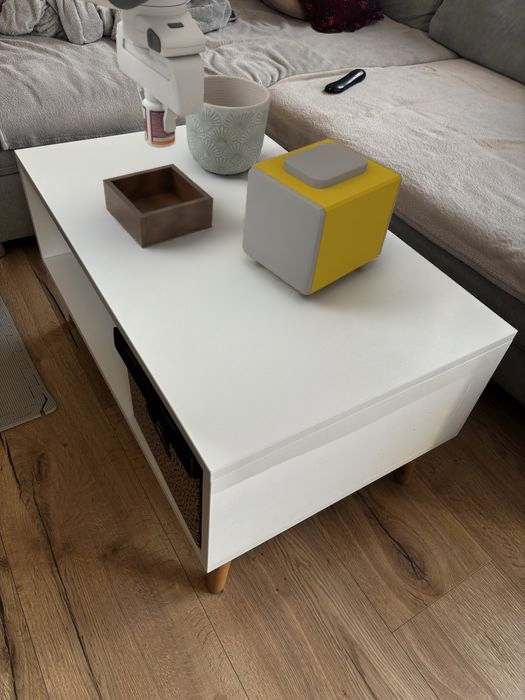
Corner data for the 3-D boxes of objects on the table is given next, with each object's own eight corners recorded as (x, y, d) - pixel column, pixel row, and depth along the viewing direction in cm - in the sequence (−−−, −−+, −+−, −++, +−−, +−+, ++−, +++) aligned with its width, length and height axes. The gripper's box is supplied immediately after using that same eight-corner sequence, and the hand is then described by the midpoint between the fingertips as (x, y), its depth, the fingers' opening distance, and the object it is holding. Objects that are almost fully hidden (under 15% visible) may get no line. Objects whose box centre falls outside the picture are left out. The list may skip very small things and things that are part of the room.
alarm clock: (314, 223, 103) (332, 126, 90) (380, 264, 96) (409, 164, 83) (236, 259, 93) (243, 155, 80) (302, 308, 85) (322, 202, 72)
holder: (142, 248, 92) (139, 218, 88) (106, 208, 100) (102, 179, 96) (212, 226, 99) (213, 198, 95) (173, 191, 106) (173, 163, 102)
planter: (168, 156, 117) (166, 81, 106) (233, 141, 125) (237, 69, 114) (213, 192, 108) (215, 114, 97) (279, 173, 116) (288, 99, 105)
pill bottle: (181, 141, 88) (180, 87, 82) (162, 151, 85) (159, 95, 79) (158, 132, 89) (155, 78, 83) (138, 142, 86) (134, 86, 80)
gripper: (101, 3, 79) (111, 100, 89) (170, 47, 68) (173, 153, 78) (140, 0, 82) (146, 95, 92) (213, 42, 71) (210, 145, 81)
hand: (159, 122), depth 85 cm, fingers closed on pill bottle, 5 cm apart
